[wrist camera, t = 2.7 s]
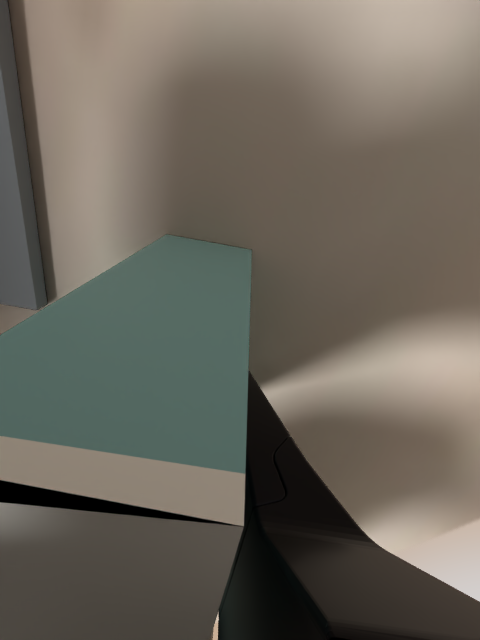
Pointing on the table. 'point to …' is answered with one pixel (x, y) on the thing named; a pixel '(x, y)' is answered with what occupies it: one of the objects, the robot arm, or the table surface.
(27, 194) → the mat
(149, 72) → the table surface
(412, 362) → the table surface
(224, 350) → the slab
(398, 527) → the table surface
